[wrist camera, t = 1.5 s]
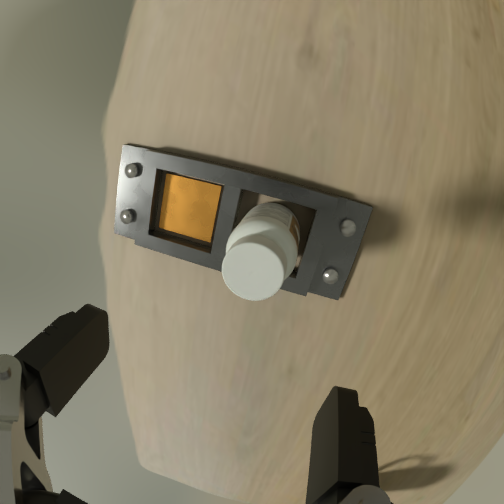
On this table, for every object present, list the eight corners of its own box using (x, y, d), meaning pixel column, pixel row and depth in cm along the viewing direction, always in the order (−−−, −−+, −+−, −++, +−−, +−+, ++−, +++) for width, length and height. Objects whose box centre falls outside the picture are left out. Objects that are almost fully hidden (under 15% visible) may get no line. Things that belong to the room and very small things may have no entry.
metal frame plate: (125, 144, 23) (117, 145, 22) (371, 206, 21) (374, 210, 20) (116, 231, 26) (109, 235, 25) (337, 297, 25) (338, 305, 23)
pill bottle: (291, 263, 24) (280, 318, 17) (237, 247, 25) (206, 294, 18) (308, 211, 23) (305, 247, 16) (250, 194, 23) (221, 222, 16)
